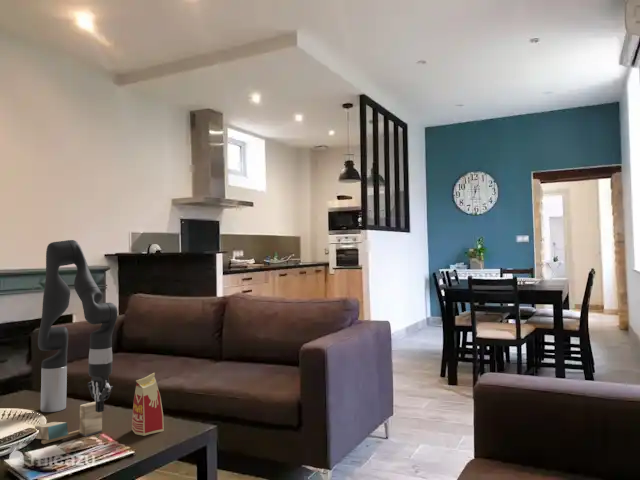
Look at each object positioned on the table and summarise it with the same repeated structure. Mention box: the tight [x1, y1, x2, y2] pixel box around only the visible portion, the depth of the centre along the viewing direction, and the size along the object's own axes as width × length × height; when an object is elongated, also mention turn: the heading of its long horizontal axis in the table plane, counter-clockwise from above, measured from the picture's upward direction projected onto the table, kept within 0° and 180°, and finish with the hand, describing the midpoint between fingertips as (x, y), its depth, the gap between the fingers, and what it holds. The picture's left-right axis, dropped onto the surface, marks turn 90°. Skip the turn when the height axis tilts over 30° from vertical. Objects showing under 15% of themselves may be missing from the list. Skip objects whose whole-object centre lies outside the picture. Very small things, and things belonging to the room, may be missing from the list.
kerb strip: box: [40, 429, 80, 445], centre depth 173 cm, size 2×19×1 cm, turn 143°
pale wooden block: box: [78, 401, 103, 437], centre depth 176 cm, size 4×6×10 cm, turn 143°
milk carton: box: [131, 372, 165, 437], centre depth 178 cm, size 9×9×20 cm
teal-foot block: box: [34, 421, 69, 440], centre depth 170 cm, size 4×6×10 cm
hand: (99, 411), depth 173 cm, fingers closed
